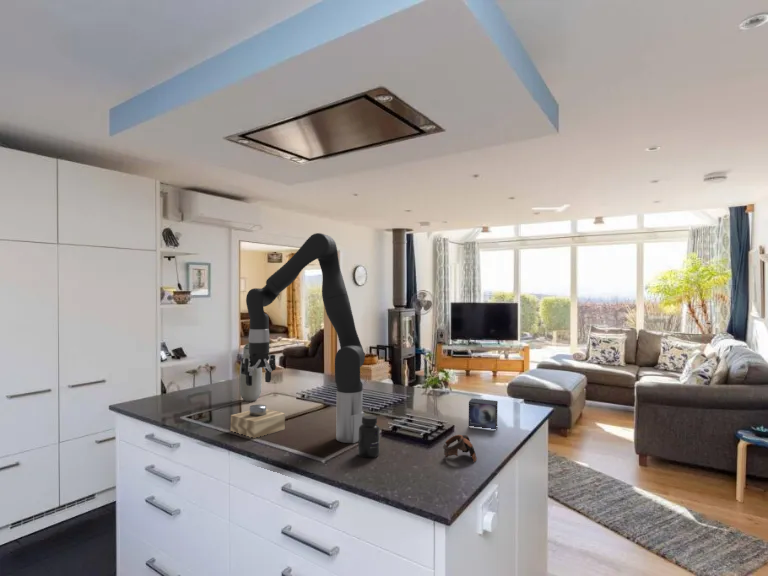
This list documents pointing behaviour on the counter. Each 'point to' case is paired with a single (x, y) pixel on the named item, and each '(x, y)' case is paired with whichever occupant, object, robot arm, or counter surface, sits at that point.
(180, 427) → the counter surface
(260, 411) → the steel pin
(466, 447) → the brown curved band
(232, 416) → the oak block
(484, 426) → the small box
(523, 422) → the counter surface
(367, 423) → the supplement bottle
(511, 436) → the counter surface
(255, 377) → the grey bottle
